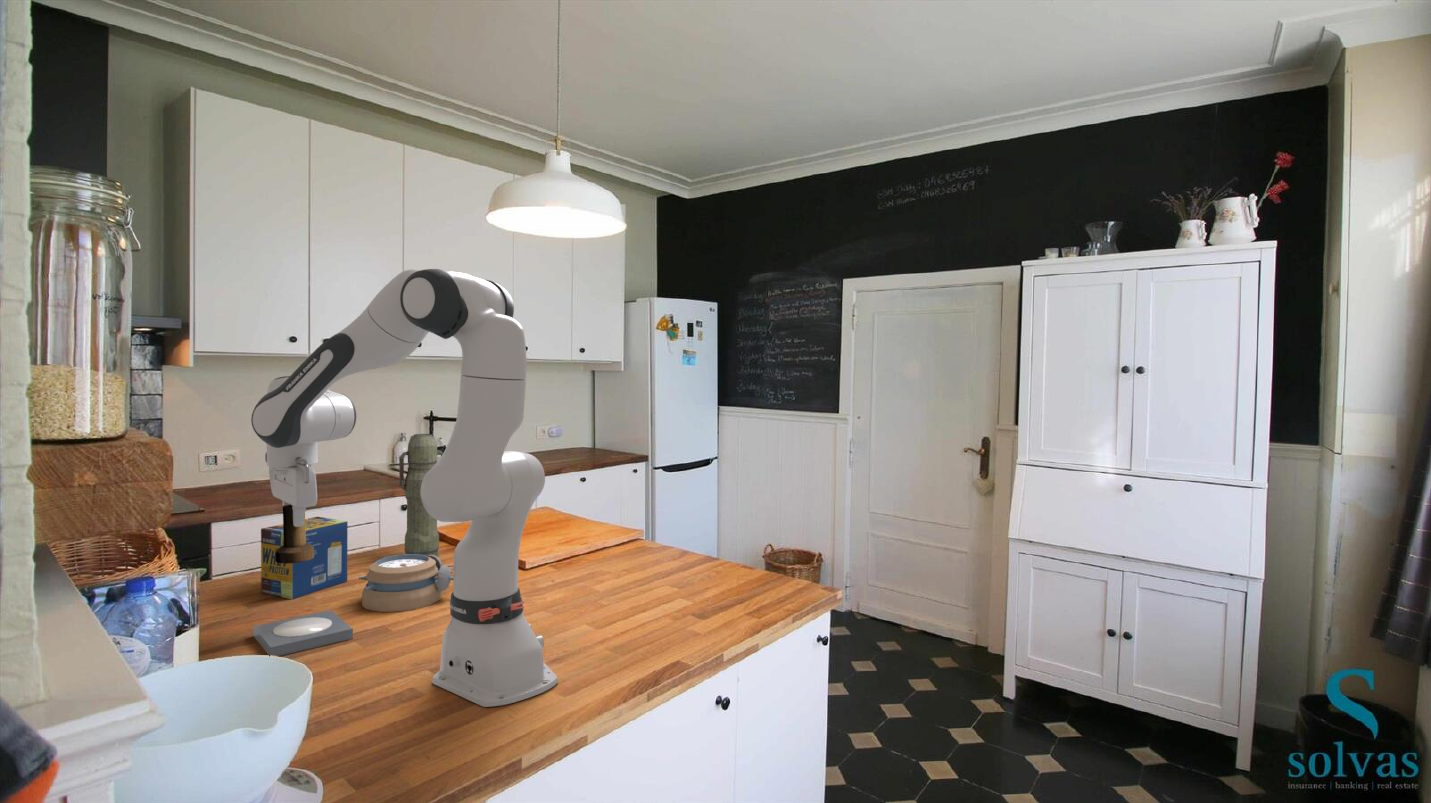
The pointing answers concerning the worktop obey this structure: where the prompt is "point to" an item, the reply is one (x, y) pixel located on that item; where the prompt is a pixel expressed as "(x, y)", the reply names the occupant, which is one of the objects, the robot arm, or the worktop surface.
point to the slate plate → (302, 633)
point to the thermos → (419, 495)
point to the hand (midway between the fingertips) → (294, 524)
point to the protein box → (307, 574)
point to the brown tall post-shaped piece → (293, 541)
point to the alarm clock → (405, 582)
